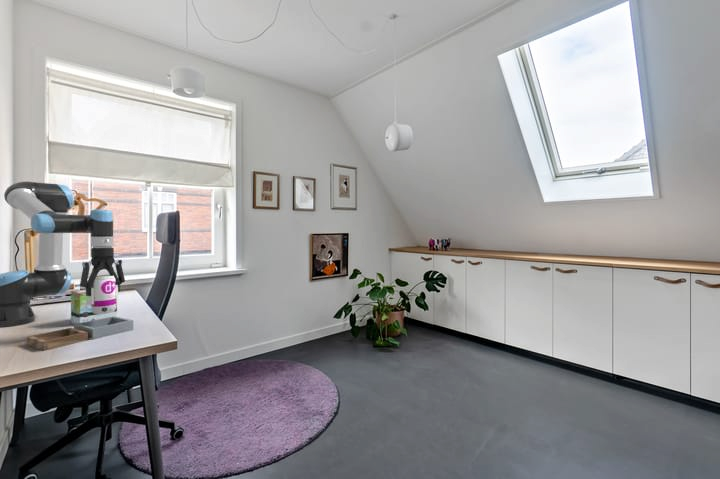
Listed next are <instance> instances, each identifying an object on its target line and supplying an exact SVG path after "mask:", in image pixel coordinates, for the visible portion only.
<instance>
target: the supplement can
mask: <svg viewBox="0 0 720 479" xmlns="http://www.w3.org/2000/svg"><path fill="white" fill-rule="evenodd" d="M91 288H94V304H91V305H92V312H93V313H94V314H105V313H111V312H114V310H116V285H115V278H114V276H110V274H103V275H102V274H101V275H97V276H96V278H95V280H94V283H93V285H92V287H91Z"/></svg>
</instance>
